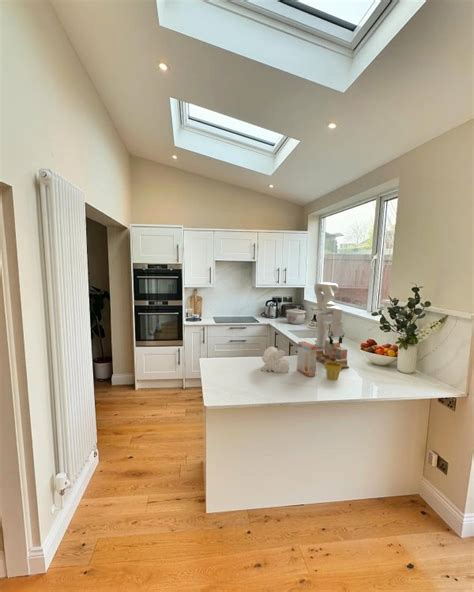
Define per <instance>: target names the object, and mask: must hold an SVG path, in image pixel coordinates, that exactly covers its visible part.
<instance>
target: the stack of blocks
mask: <svg viewBox="0 0 474 592" xmlns="http://www.w3.org/2000/svg"><path fill="white" fill-rule="evenodd" d="M323 354H326V355H328V356H331V357H333V358H335V359H338V360H341V359H346V360H347V361H348V357H347V356H348V349H347V348H345V347H342V346H341V343H339V341H336V340H333V344H330V339H327V340H325V348H324V349H323Z"/></svg>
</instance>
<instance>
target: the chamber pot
mask: <svg viewBox="0 0 474 592" xmlns="http://www.w3.org/2000/svg"><path fill="white" fill-rule="evenodd" d="M285 312H286V315H285V316H286V320H287V322H288V323H289V324H291V325H301V324H303V323H304V321H305V319H306V313H307V311H306V310H304V309H299V308H296V307H295V308H293V309H292V308H290V309H286V310H285Z"/></svg>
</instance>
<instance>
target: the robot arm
mask: <svg viewBox="0 0 474 592" xmlns="http://www.w3.org/2000/svg"><path fill="white" fill-rule="evenodd" d="M313 288H314V289H313V290H314V294H315V297H316V303H317V304H316V305H317V307H316V308H317V311H318V312H320V313H317V315H316V322H317V323H316V340H315V341H314V345H315V346H317V349H318V348H319V349H325V340H330V344H333V341H334V338H338V342H339V343H340V345H341V344H343V339H344V337H345V332H343V331H344V330H343V321H342V320H343V309H342V307H341V308H340V307H339V306H336V305H335V302H333V301H334V300H335V298H336V296H335V294H338V293H339V291H340V288H339V285H338V284H337V283H334V282H333V283H332V282H317V283H315V285H314V287H313ZM326 324H330V328H328V326H327V325H326ZM328 329H329V331H328Z"/></svg>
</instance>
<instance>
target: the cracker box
mask: <svg viewBox="0 0 474 592" xmlns="http://www.w3.org/2000/svg"><path fill="white" fill-rule="evenodd" d="M317 350H318V347H317V346H315V344H312V343H310V342H307V341H305V340H304V341H298V342H297V357H296V360H297V361H296V371H298V372H299V373H300V374H303V375H304V376H306V377H309V378H310V377H315V376H316V368H317V367H316V366H317V361H316V354H317Z"/></svg>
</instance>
